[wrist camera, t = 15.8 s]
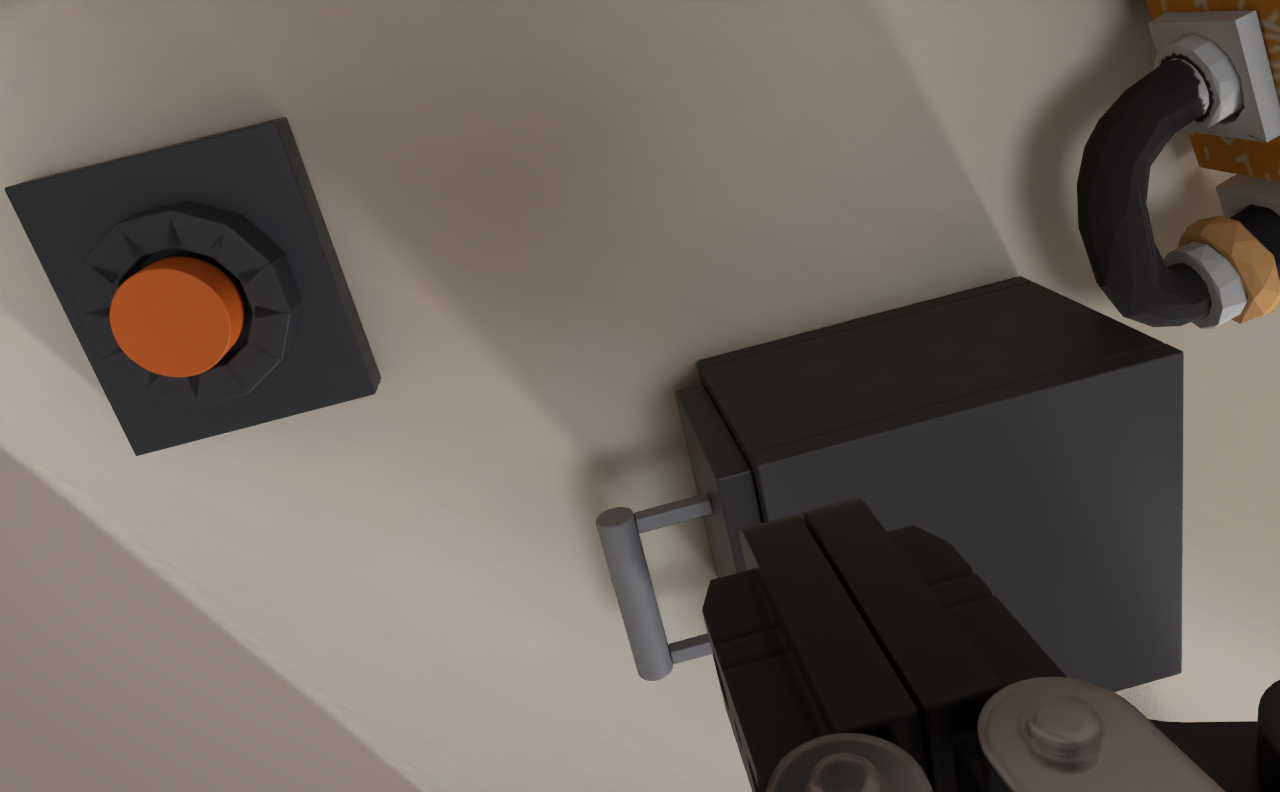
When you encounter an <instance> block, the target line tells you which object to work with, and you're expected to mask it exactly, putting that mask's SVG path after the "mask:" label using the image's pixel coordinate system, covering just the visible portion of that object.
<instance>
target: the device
mask: <svg viewBox="0 0 1280 792" xmlns="http://www.w3.org/2000/svg"><path fill="white" fill-rule="evenodd" d="M1146 1H1147V4H1148V7H1149V10H1150V14H1151V17H1152V20H1153V21H1151V22H1150V23H1148V25H1149V29H1150V32H1151V35H1152V38H1153V42H1154V45H1155V48H1156V52H1157V54H1156V57H1155V61H1154V66H1153V70H1152V72H1150V73H1149V74H1148V75H1146V76H1145V77H1143V78H1142V79H1141V80H1139V81H1138V82H1137V83H1135V84H1134V85H1132V86H1131V87H1130V88H1128V89H1127V90H1125V92H1124V93H1123V94H1122V95H1121V96H1120V97H1119V98H1118V99H1117V100H1116V102H1115V103H1114V104H1113V105H1112V106H1111V107H1110V108H1109V109H1108V110H1107V112H1106V113H1105V114H1104V115H1103V116H1102V117H1101V118H1100V119H1099V121H1098V123H1097V124H1096V126H1095V128H1094V130H1093V132H1092V134H1091V136H1090V138H1089V140H1088V141H1087V143H1086V145H1085V147H1084V152H1083V157H1082V162H1081V167H1080V171H1079V176H1078V181H1077V198H1078V225H1079V231H1080V234H1081V237H1082V240H1083V243H1084V246H1085V249H1086V252H1087V255H1088V258H1089V261H1090V264H1091V267H1092V270H1093V273H1094V276H1095V279H1096V282H1097V284H1098V285H1099V287H1100V288H1101V289H1102V291H1103V292H1104V293H1105V294H1106V296H1107V297H1108V298H1109V299H1110V301H1111V302H1112V303H1113V304H1114V306H1115V307H1116V308H1117V309H1118V311H1119V312H1120V313H1121V314H1122V316H1123V317H1126V318H1129V319H1132V320H1135V321H1138V322H1140V323H1143V324H1146V325H1149V326H1152V327H1166V326H1181V325H1184V324H1187V323H1189V322H1192V323H1193V324H1195V325H1196V326H1198V327H1199V328H1215V327H1217V326H1219V325H1221V324H1223V323H1225V322H1227V321H1228V320H1230V319H1232V320H1234V321H1236V322H1238V323H1243V322H1246V321H1248V320H1251V319H1254V318H1257V317H1259V316H1262V315H1265V314H1268V313H1271V312H1273V311H1274V309H1275V308H1276V306H1277V304H1278V303H1279V301H1280V0H1146ZM1179 130H1181V131H1185V132H1188V133H1189V136H1190V139H1191V142H1192V145H1193V148H1194V152H1195V155H1196V158H1197V161H1198V164H1199V167H1202V168H1207V169H1213V170H1218V171H1224V172H1229V173H1235V174H1237V175H1235V176H1233V177H1231V178H1230V179H1228V180H1226V181H1225V182H1223V183H1221V184H1220V185H1218V186H1216V189H1217V193H1218V196H1219V199H1220V203H1221V206H1222V209H1223V213H1224V216H1225V217H1224V216H1217V217H1211V218H1205V219H1200V220H1198V221H1197V222H1195V223H1194V224H1192V225H1190V226H1189V227H1187V228H1186V230H1185V232H1184V233H1183V235H1182V237H1181V239H1180V242H1179V245H1178V248H1177V249H1176V250H1174V251H1172V252H1170V253H1168V254H1167V256H1166V258H1165V259H1164V261H1163V259H1162V257H1161V255H1160V253H1159V250H1158V248H1157V246H1156V244H1155V242H1154V238H1153V233H1152V228H1151V223H1150V219H1149V214H1148V209H1147V204H1146V200H1147V191H1148V182H1149V174H1150V166H1151V165H1152V163H1153V162H1154V160H1155V159H1156V157H1157V156H1158V155H1159V153H1160V152H1161V150H1162V149H1163V148H1164V146H1165V145H1166V143H1167V142H1168V141H1169V140H1170V139H1171V137H1172V136H1173V135H1174V134H1175V133H1176V132H1178V131H1179Z"/></svg>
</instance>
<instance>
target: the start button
mask: <svg viewBox="0 0 1280 792" xmlns="http://www.w3.org/2000/svg"><path fill="white" fill-rule="evenodd" d="M244 322H245V309H244V304H243V300H242V297H241V295H240V293H239V291H238V289H237V287H236V286H235V284H234V283H233V282H232V281H231V279H230V278H229V277H228V276H227V275H226V274H225V273H224V272H222V271H221V270H220V269H218V268H217V267H215V266H213V265H212V264H210V263H208V262H205V261H203V260H200V259H197V258H192V257H185V256H174V257H168V258H164V259H160V260H158V261H156V262H154V263H152V264H150V265H148V266H147V267H145V268H144V269H142V270H140V271H139V272H137V273H136V274H134V275H133V276H131V277H130V278H128V279H127V280H126V281H125V282H123V283H122V284H121V286H120V287H119V288H118V289H117V291H116V293H115V294H114V296H113V299H112V302H111V306H110V325H111V329H112V332H113V335H114V337H115V339H116V341H117V343H118V345H119V346H120V348H121V349H122V350H123V352H124V353H125V354H126V355H127V356H128V357H129V358H130V359H131V360H133V361H134V362H135V363H136V364H138V365H139V366H141V367H143V368H145V369H146V370H148V371H151V372H153V373H156V374H159V375H163V376H169V377H188V376H193V375H197V374H200V373H202V372H205V371H207V370H208V369H210V368H211V367H213V366H214V365H215V364H216V363H218V362H219V361H220V360H221V358H222V357H223V356H224V355H225V354H226V353H227V352H228V351H229V349H230V348H231V347H232V346H233V345H234V344H235V343H236V341H237V340H238V338H239V337H240V335H241V332H242V330H243V326H244Z"/></svg>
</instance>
